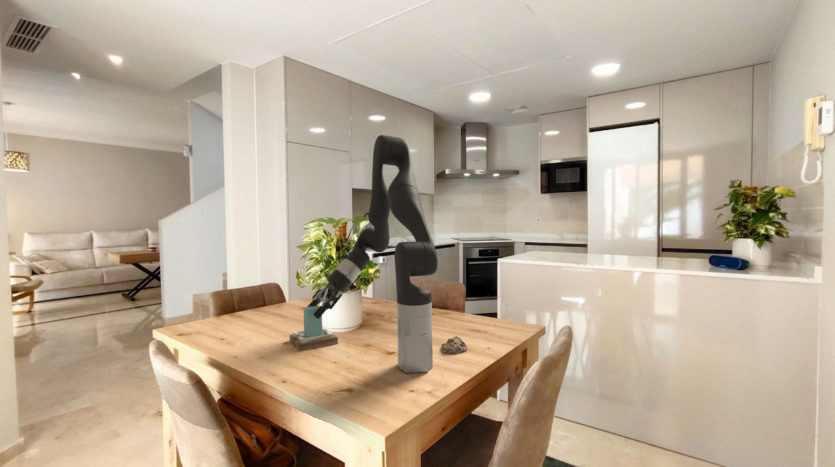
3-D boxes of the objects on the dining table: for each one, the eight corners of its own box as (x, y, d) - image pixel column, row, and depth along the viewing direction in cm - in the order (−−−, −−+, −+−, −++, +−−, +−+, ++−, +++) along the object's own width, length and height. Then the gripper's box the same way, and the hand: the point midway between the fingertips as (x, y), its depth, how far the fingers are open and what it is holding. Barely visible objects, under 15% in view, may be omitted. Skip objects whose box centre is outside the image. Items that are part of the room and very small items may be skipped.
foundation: (337, 343, 120) (337, 334, 120) (299, 351, 114) (299, 341, 114) (325, 334, 130) (324, 325, 130) (289, 341, 124) (289, 331, 124)
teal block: (322, 336, 121) (321, 308, 121) (308, 338, 119) (307, 310, 119) (317, 332, 125) (317, 305, 125) (304, 335, 123) (303, 307, 122)
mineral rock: (466, 348, 108) (439, 338, 110) (462, 363, 108) (436, 352, 111) (473, 338, 118) (448, 329, 120) (469, 351, 118) (445, 342, 121)
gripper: (329, 266, 132) (296, 303, 126) (344, 270, 120) (309, 311, 114) (343, 280, 135) (312, 317, 129) (360, 285, 123) (327, 326, 117)
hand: (311, 314), depth 121 cm, fingers open, 8 cm apart
